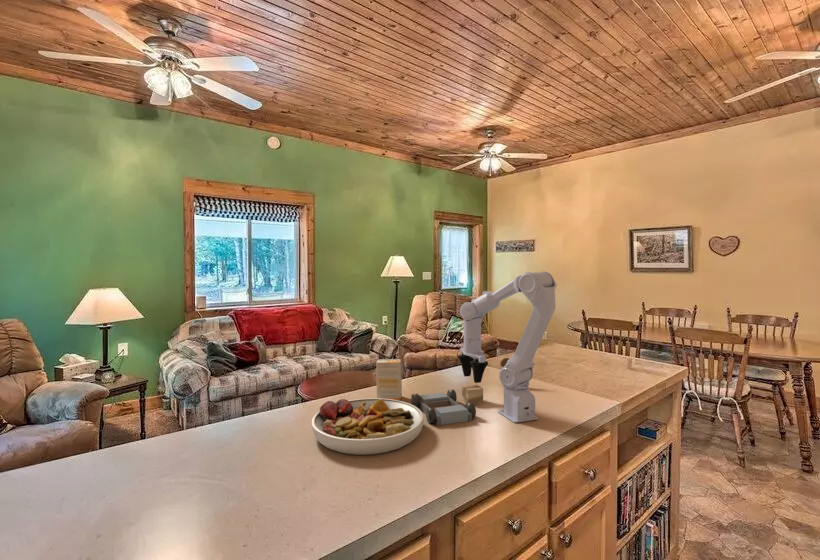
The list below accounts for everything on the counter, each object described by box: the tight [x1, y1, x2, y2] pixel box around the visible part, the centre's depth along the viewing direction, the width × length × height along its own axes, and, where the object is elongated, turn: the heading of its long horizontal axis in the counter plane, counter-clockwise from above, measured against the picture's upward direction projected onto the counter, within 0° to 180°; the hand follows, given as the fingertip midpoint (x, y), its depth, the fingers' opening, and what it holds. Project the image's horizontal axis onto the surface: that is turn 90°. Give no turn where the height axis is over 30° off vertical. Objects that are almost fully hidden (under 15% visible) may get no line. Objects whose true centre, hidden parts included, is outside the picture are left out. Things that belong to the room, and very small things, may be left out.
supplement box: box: [375, 358, 403, 401], centre depth 140 cm, size 8×5×13 cm, turn 84°
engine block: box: [461, 384, 484, 405], centre depth 136 cm, size 4×6×5 cm
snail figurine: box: [499, 357, 510, 370], centre depth 153 cm, size 5×6×12 cm
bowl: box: [311, 397, 424, 456], centre depth 111 cm, size 30×30×8 cm
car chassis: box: [410, 389, 477, 427], centre depth 127 cm, size 19×14×4 cm
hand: (472, 379), depth 136 cm, fingers open, 7 cm apart
